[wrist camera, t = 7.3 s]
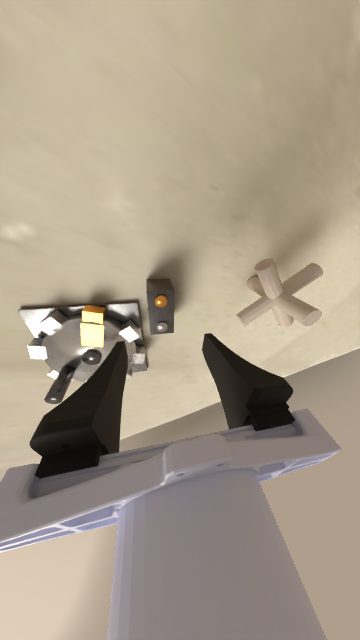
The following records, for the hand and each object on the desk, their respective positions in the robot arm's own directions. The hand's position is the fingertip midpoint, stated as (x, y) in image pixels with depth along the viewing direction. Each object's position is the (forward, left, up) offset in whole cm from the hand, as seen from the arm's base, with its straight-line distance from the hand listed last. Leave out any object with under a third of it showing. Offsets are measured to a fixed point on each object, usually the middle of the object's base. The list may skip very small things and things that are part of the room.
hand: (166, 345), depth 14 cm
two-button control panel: (0, 0, -10) cm, 10 cm away
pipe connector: (-2, +14, -10) cm, 17 cm away
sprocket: (+7, -10, -9) cm, 15 cm away
